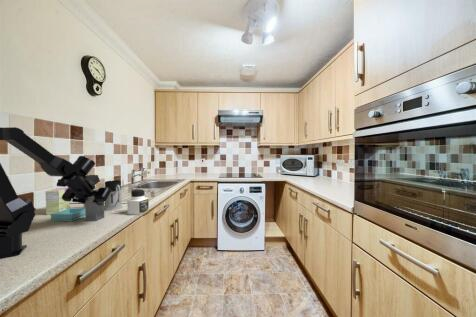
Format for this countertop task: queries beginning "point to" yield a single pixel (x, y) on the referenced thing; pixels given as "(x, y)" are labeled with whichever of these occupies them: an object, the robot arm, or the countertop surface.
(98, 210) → the tall grey square pillar
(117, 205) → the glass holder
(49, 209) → the box
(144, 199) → the medicine bottle
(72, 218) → the teal tray
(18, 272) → the countertop surface
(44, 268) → the countertop surface
